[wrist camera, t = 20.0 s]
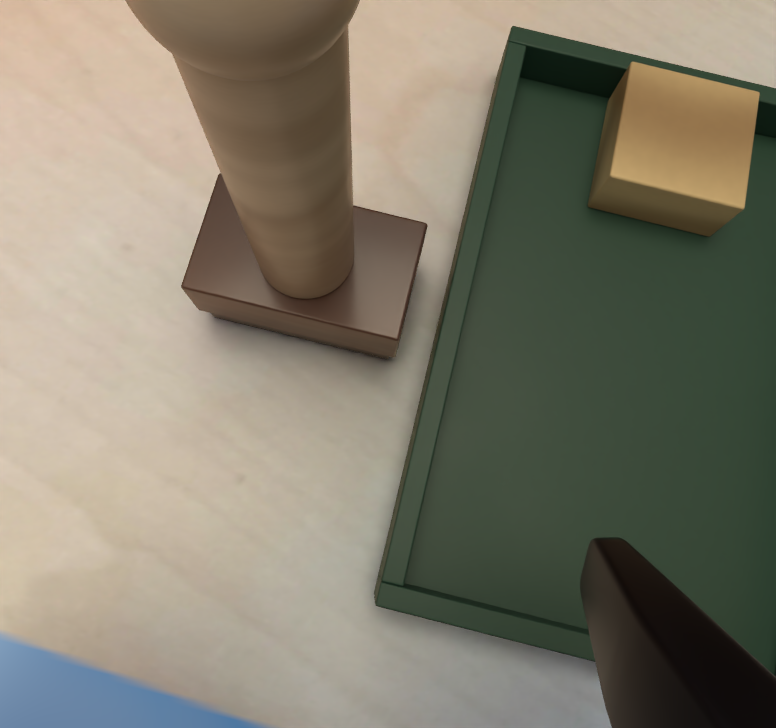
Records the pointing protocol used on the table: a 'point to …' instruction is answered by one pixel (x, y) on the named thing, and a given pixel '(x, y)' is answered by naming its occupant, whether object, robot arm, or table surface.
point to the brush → (285, 175)
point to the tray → (591, 381)
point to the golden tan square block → (675, 150)
